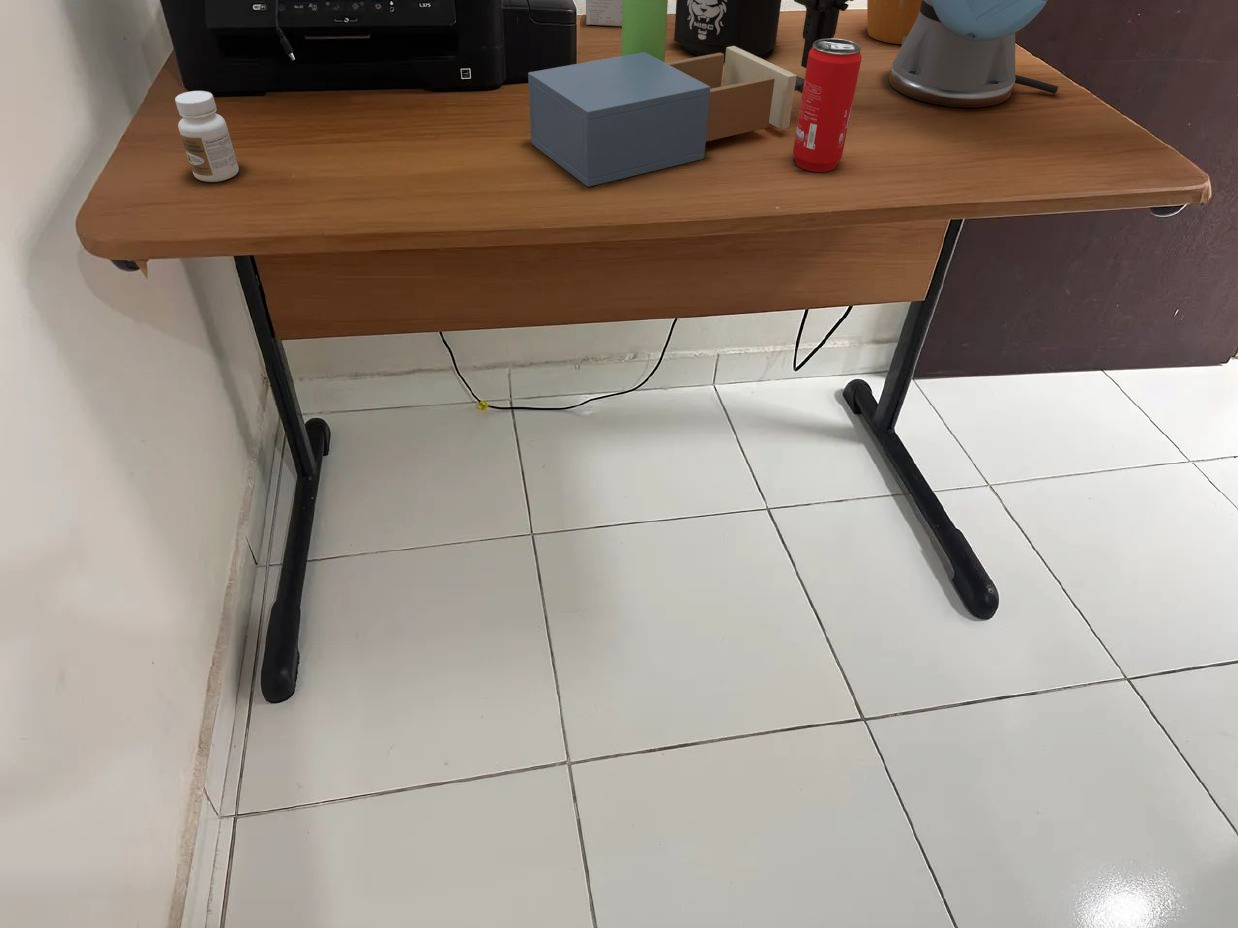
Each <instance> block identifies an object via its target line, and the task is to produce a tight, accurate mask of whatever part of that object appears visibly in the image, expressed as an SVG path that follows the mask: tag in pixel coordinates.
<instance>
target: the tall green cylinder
mask: <svg viewBox="0 0 1238 928" xmlns="http://www.w3.org/2000/svg"><path fill="white" fill-rule="evenodd" d="M668 3H669V0H623V4H622V26H621V53H620V56H624V55H630V54H635V53H641V52H646V53H648V54H649V55H651V56H653V57H655V58H657V59H659V60H661V61H663V62H665V63H666V44H667V24H668V7H669V5H668Z"/></svg>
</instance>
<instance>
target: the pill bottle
mask: <svg viewBox="0 0 1238 928" xmlns="http://www.w3.org/2000/svg"><path fill="white" fill-rule="evenodd" d="M174 101H175V105H176V108H177V111H178V114H179V116H180V117H182V118H181V119H180V120H179V121H178V124H177V128H178V131H179V134H180V137H181V141H182V144H183V148H184V150H185V153H186V156H187V159H188V163H189V165H190V169H191V172H192V174H193V177H194V178H195V179H196V180H199V181H202V182H206V183H218V182H223V181H226V180H230V179H231V178H233V177H235V176H236V175H238V173H239V170H240V168H239V164H238V161H237V157H236V153H235V150H234V146H233V143H232V140H231V136H230V133H229V128H228V125H227V122H226V119H224V118H223V116H222V115H220V114H218V113H216V112H217V105H216V101H215V97H214V95H213V94H212V93H211V92H210V91H207V90H206V91H205V90H192V91H191V90H190V91H186V92H185V91H184V92H183V93H180V94H178V95H177V96H175V98H174Z"/></svg>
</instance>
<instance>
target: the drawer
mask: <svg viewBox="0 0 1238 928" xmlns="http://www.w3.org/2000/svg"><path fill="white" fill-rule="evenodd" d="M665 63H666V64H668V65H670V66H672V67H674V68H676V69H678V70H680V71H682V72H683V73H685V74H687V75H689V76H691V77H693V78H695V79H697V80H699V81H700V82H702V83H704V84H706V85H708V86H710V94H709V95H710V98H709V109H708V120H707V132H706V143H707V142H711V141H715V140H719V139H723V138H728V137H733V136H736V135H740V134H744V133H745V134H746V133H749V132H753V131H757V130H762V129H767V128H769V125H772V126H774V127H776V128H777V129H778V130H785V129H788V128H790V123H791V117H792V109H793V104H794V103H793V102H794V96H795V92H796V91H797V92H798V93H801V94H802V93H803V86H804V80H805V78H802V77H800V76H799V75H797V74H795V73H793V72H791V71H789V70H787V69H785V68H783V67H781V66H778V65H776V64H774V63H772V62H771V61H767V60H766V59H763V58H762V57H757V56H755V55H753V54H750V53H748V52H746V51H744V50H742V49H740V48H738V47H735V46H731V47H726V56H725V60H724V54H722V53H716V54H710V55H705V56H695V57H689V58H683V59H678V60H674V61H668V62H665Z"/></svg>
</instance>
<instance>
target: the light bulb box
mask: <svg viewBox="0 0 1238 928" xmlns="http://www.w3.org/2000/svg"><path fill="white" fill-rule="evenodd" d="M622 4H623V0H585V25H586V26H592V25H593V26H608V27H609V26H610V27H622Z"/></svg>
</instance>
